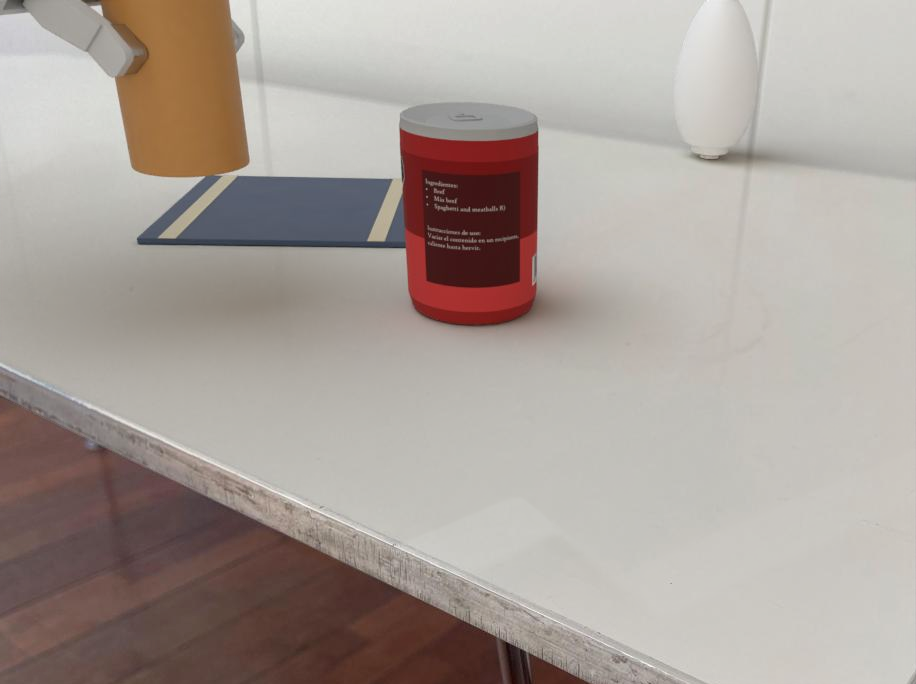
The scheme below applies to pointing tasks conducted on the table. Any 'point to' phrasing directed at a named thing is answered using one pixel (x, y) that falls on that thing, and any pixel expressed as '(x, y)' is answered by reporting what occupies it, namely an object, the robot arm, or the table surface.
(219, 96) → the lidded tan canister
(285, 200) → the placemat
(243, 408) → the table surface
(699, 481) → the table surface
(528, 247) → the canned food
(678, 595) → the table surface
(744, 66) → the white tall oval piece
